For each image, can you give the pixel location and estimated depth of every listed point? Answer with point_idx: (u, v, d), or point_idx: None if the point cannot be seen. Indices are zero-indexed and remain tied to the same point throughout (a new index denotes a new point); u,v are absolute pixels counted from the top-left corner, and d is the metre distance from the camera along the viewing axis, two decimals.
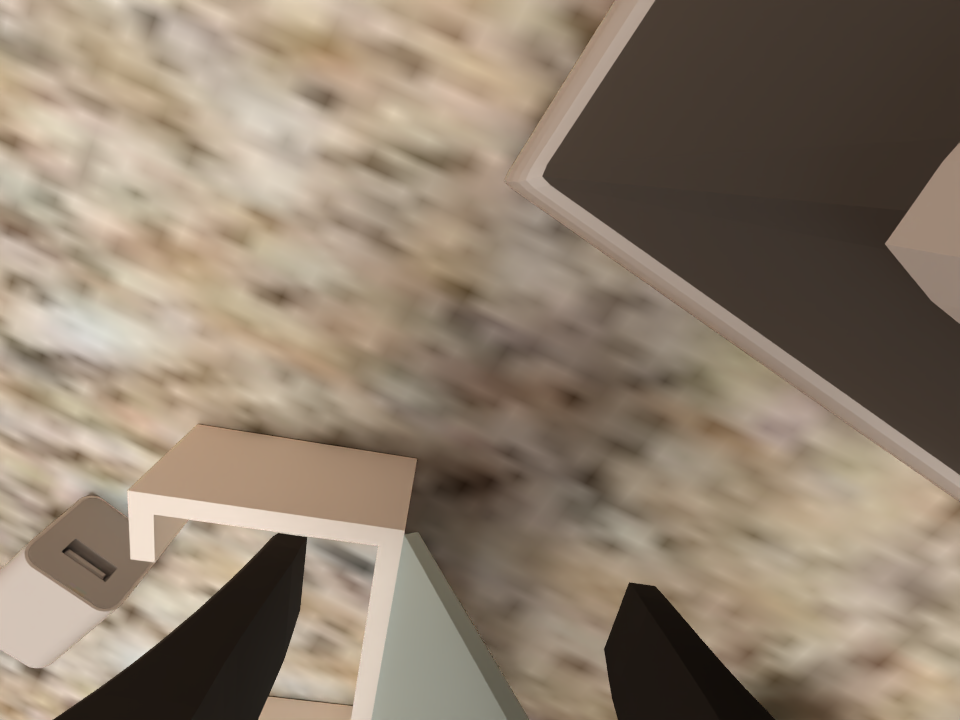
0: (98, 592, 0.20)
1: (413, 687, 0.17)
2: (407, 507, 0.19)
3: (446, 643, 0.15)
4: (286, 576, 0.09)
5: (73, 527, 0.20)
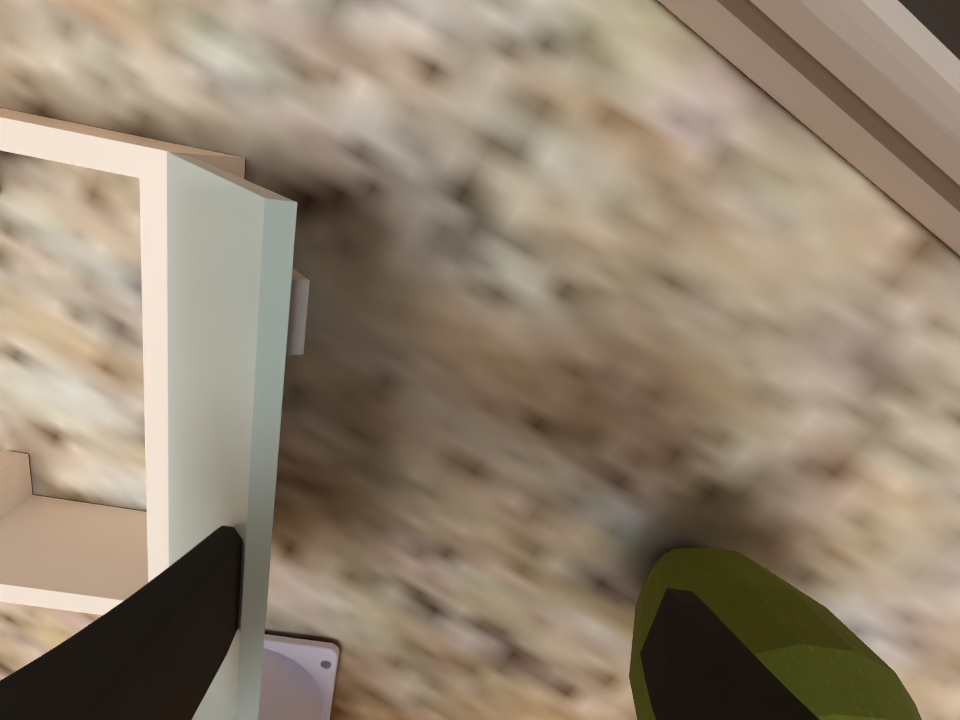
0: None
1: (187, 339, 0.13)
2: (194, 153, 0.14)
3: (201, 212, 0.11)
4: (223, 567, 0.09)
5: None
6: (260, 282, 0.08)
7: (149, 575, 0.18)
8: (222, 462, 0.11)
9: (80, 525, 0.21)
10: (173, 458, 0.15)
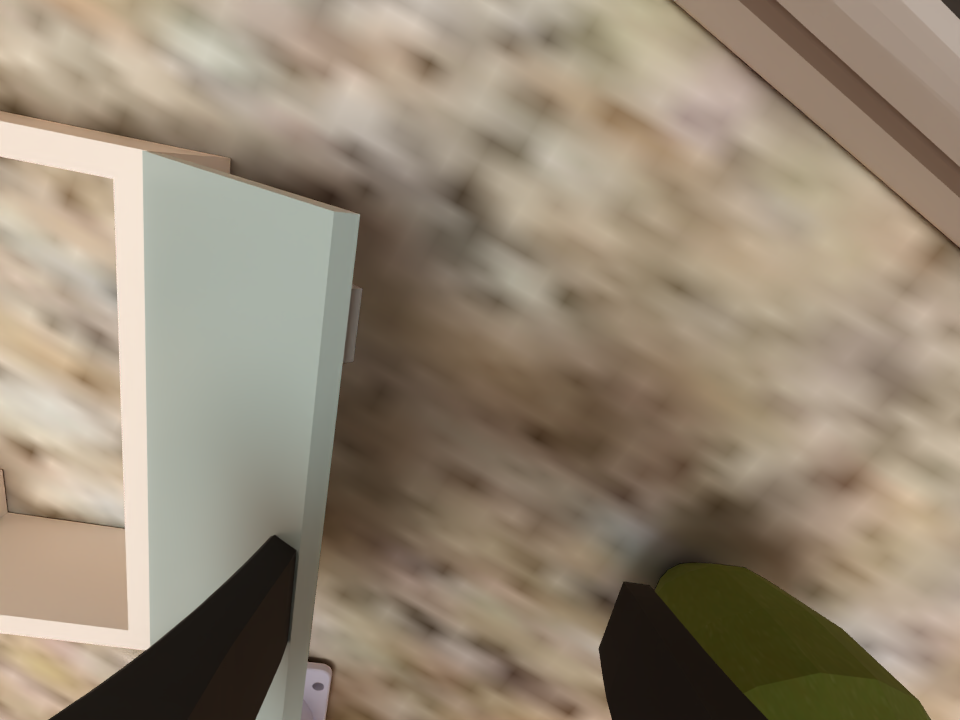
0: None
1: (185, 351, 0.12)
2: (173, 153, 0.13)
3: (214, 219, 0.10)
4: (284, 576, 0.09)
5: None
6: (325, 294, 0.08)
7: (129, 600, 0.17)
8: (255, 475, 0.11)
9: (57, 544, 0.20)
10: (158, 477, 0.14)
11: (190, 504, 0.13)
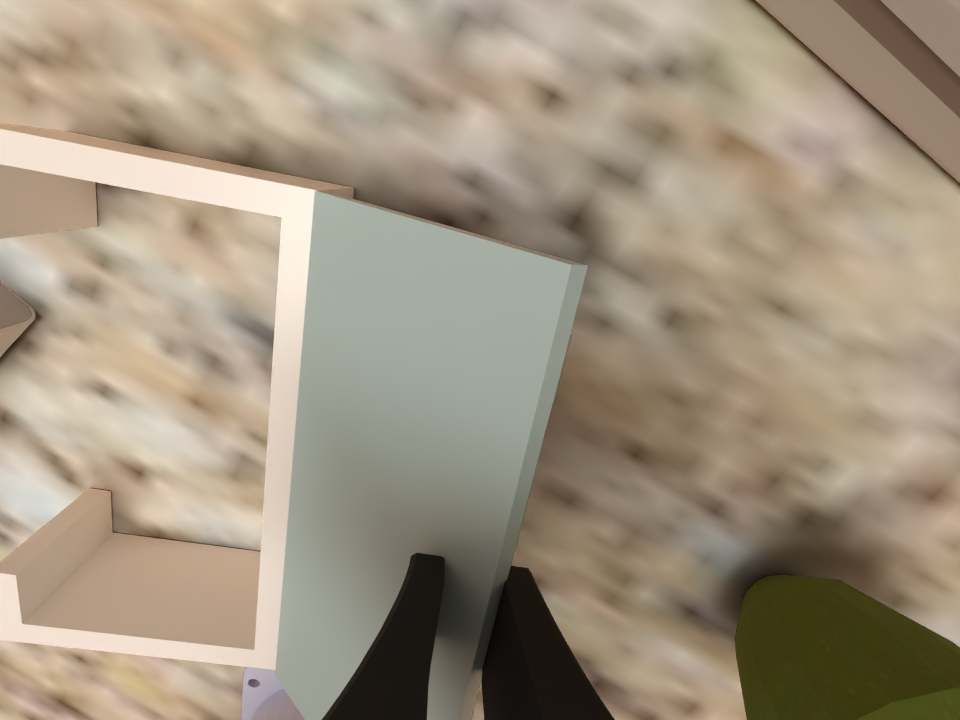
0: None
1: (353, 386, 0.12)
2: (327, 189, 0.14)
3: (405, 262, 0.11)
4: None
5: None
6: (550, 344, 0.08)
7: (258, 620, 0.17)
8: (437, 513, 0.11)
9: (167, 564, 0.20)
10: (304, 503, 0.15)
11: (344, 533, 0.13)
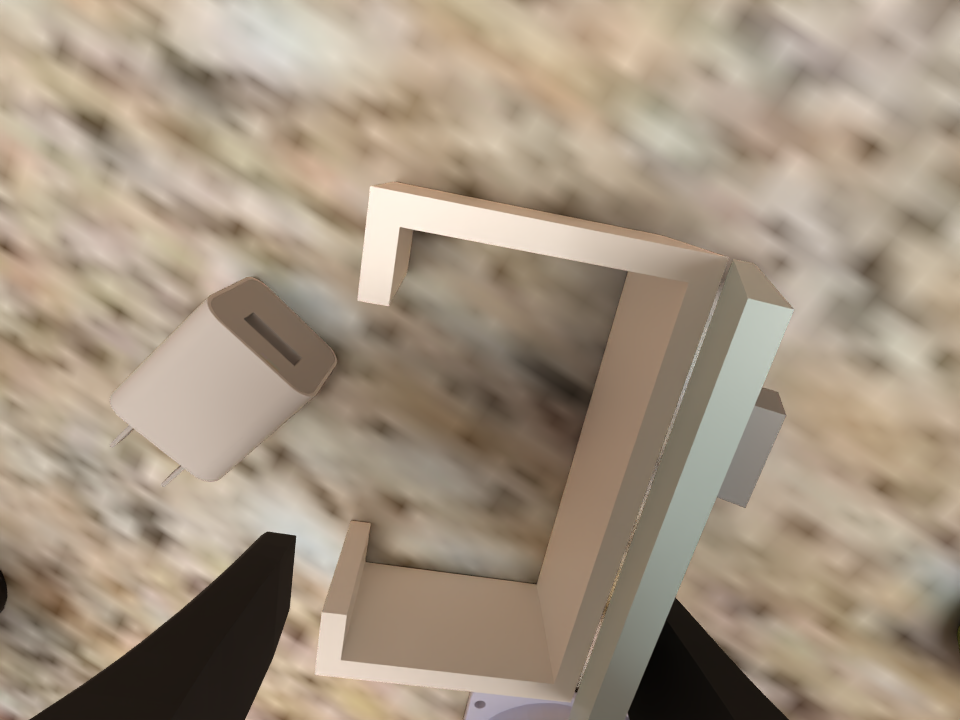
0: (291, 373, 0.15)
1: (672, 441, 0.12)
2: (705, 250, 0.14)
3: (721, 316, 0.10)
4: (274, 574, 0.09)
5: (248, 301, 0.16)
6: (710, 398, 0.07)
7: (564, 657, 0.18)
8: (631, 581, 0.10)
9: (430, 595, 0.21)
10: (628, 551, 0.15)
11: (620, 586, 0.13)
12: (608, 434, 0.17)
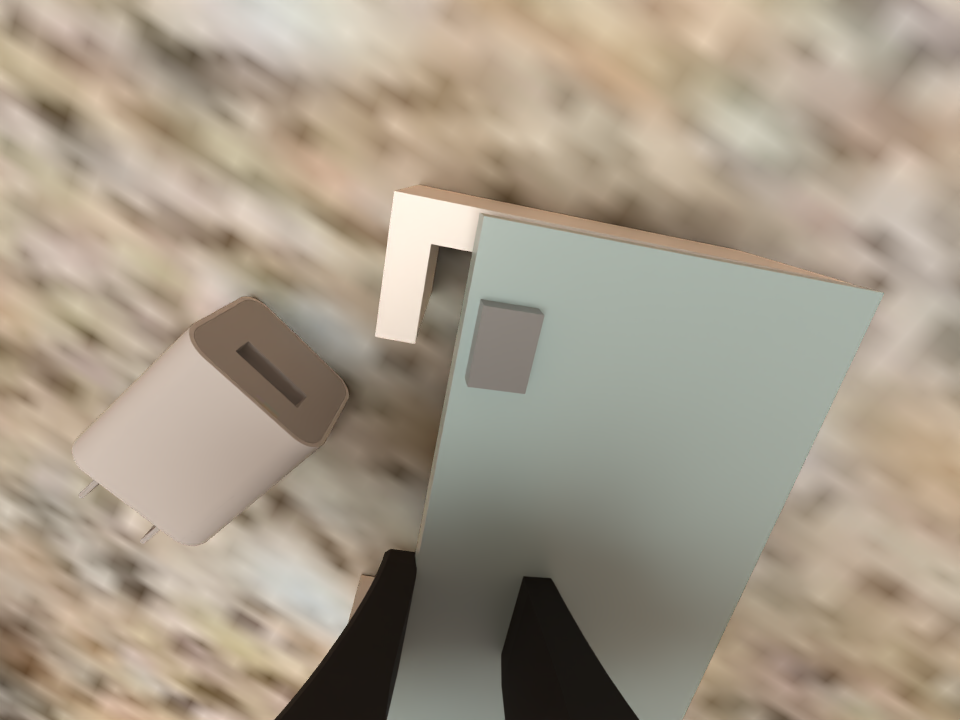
0: (293, 418, 0.12)
1: None
2: (811, 272, 0.11)
3: None
4: (412, 593, 0.10)
5: (242, 327, 0.13)
6: (465, 291, 0.09)
7: None
8: None
9: None
10: None
11: None
12: None
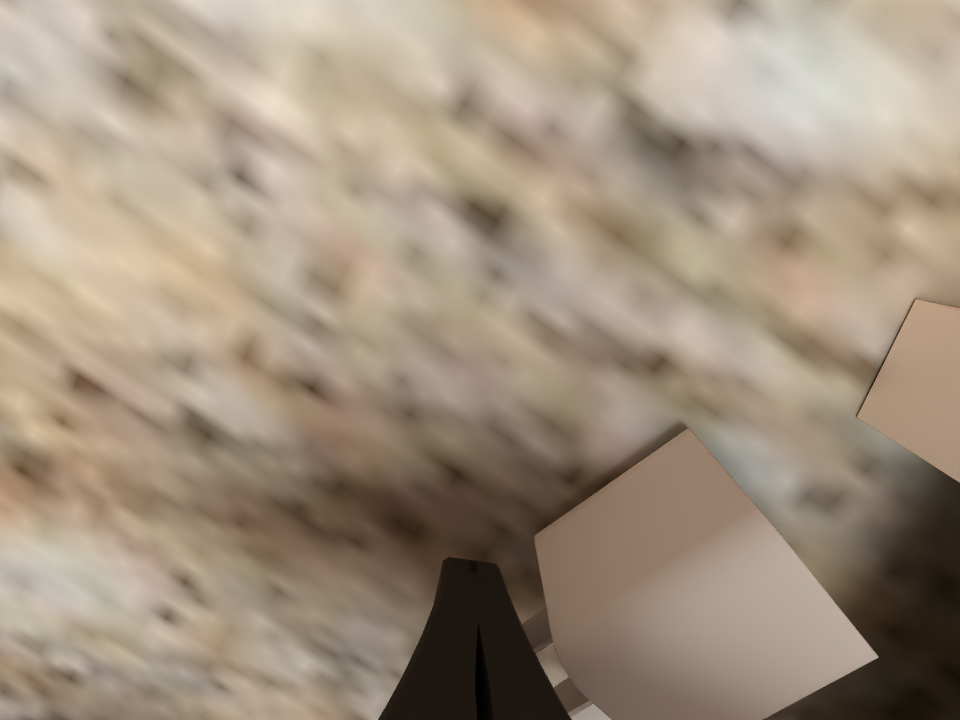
0: None
1: None
2: None
3: None
4: None
5: None
6: None
7: None
8: None
9: None
10: None
11: None
12: None
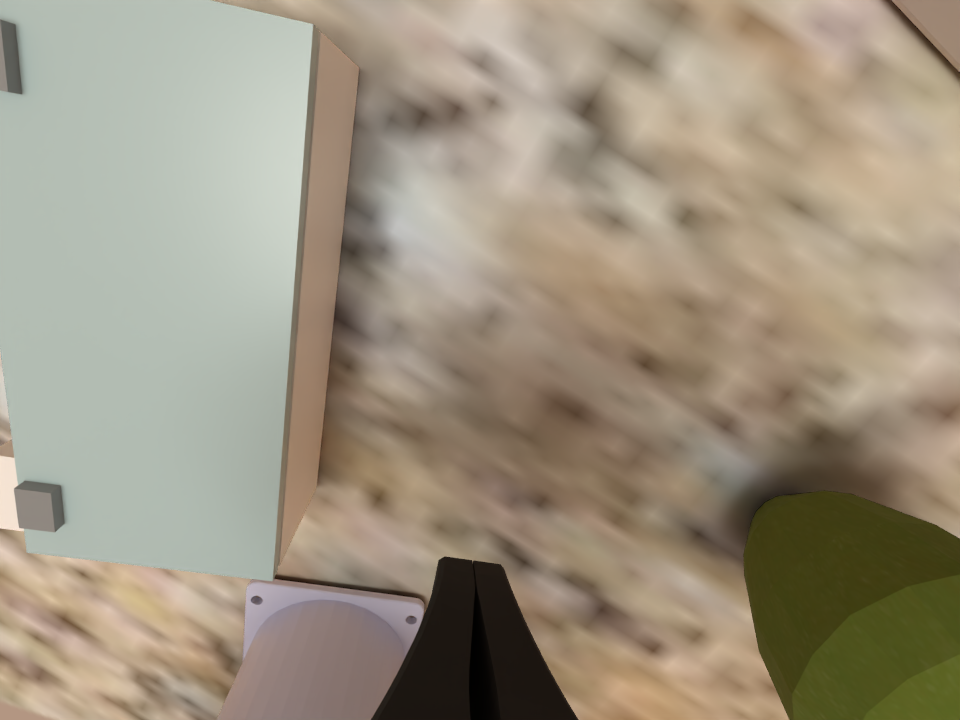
0: None
1: None
2: (332, 44, 0.13)
3: None
4: None
5: None
6: None
7: None
8: None
9: None
10: None
11: None
12: None
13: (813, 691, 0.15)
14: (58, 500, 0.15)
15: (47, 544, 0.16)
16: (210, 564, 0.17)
